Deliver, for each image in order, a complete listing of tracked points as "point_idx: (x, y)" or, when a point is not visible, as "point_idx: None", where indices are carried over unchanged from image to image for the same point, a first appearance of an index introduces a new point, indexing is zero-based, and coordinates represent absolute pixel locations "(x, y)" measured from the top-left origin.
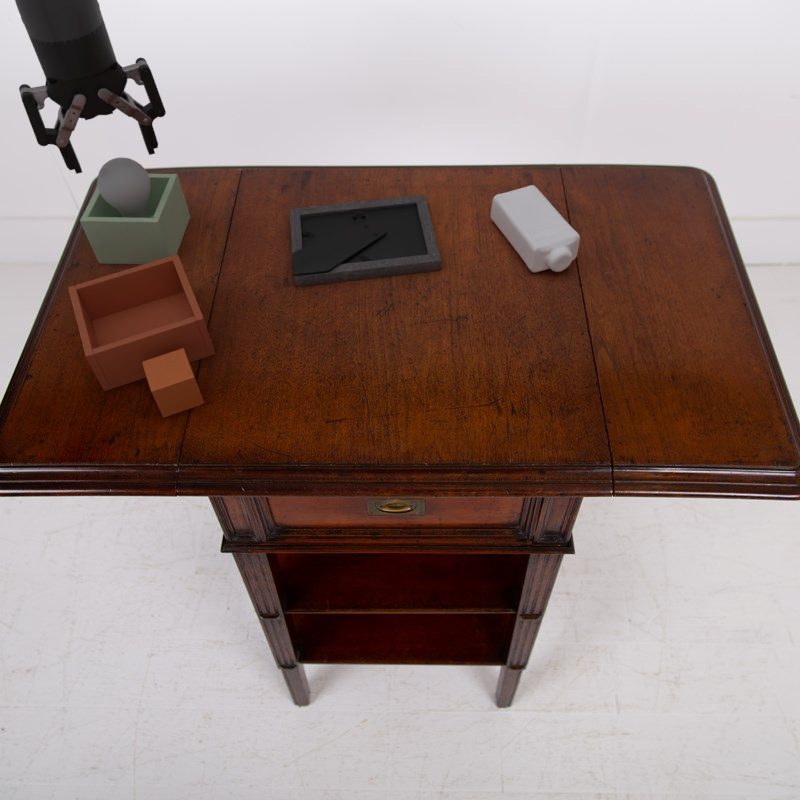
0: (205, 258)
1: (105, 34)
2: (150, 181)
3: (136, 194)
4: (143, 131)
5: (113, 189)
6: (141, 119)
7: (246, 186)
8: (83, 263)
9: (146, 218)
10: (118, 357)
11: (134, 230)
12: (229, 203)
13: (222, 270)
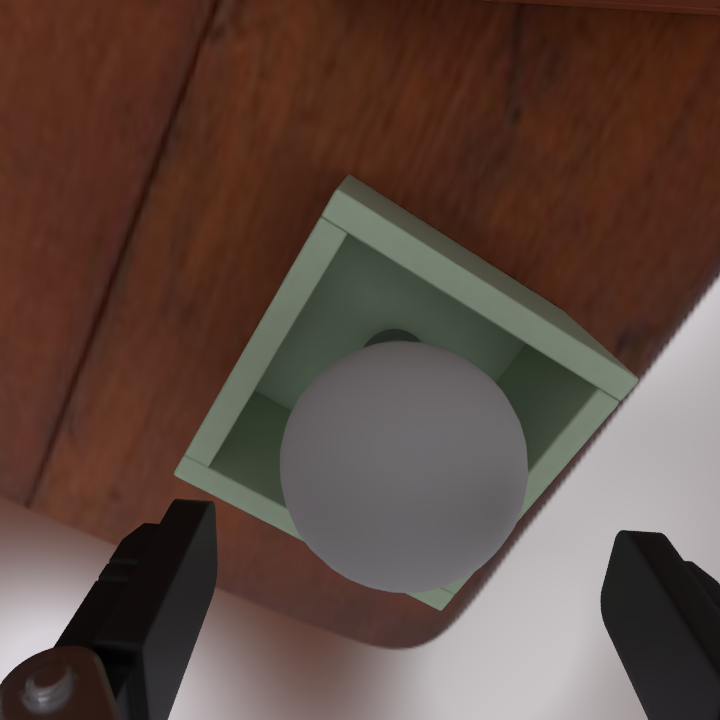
0: (233, 150)
1: None
2: None
3: (374, 353)
4: (140, 619)
5: (478, 397)
6: (73, 712)
7: (24, 440)
8: (605, 339)
9: (376, 242)
10: None
11: (441, 248)
12: (92, 388)
13: (191, 46)
